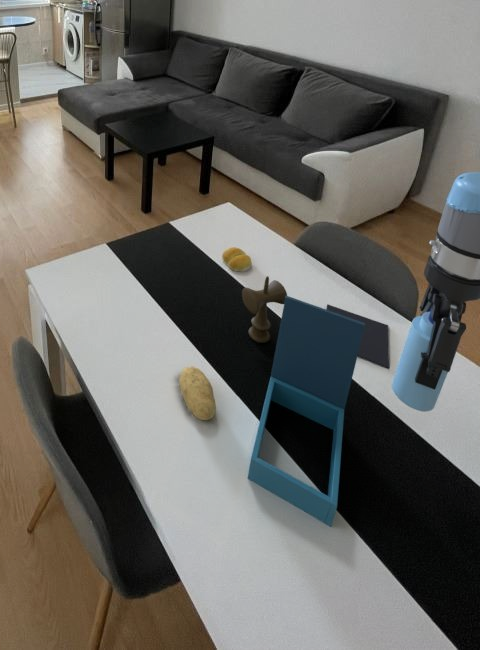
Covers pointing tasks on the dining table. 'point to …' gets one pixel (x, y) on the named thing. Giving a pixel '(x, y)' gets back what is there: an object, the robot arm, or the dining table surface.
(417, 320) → the water bottle
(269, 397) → the blue open box
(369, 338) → the mat
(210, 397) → the potato
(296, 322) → the lid
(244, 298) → the kendama
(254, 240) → the dining table surface
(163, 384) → the dining table surface
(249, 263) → the bread roll
